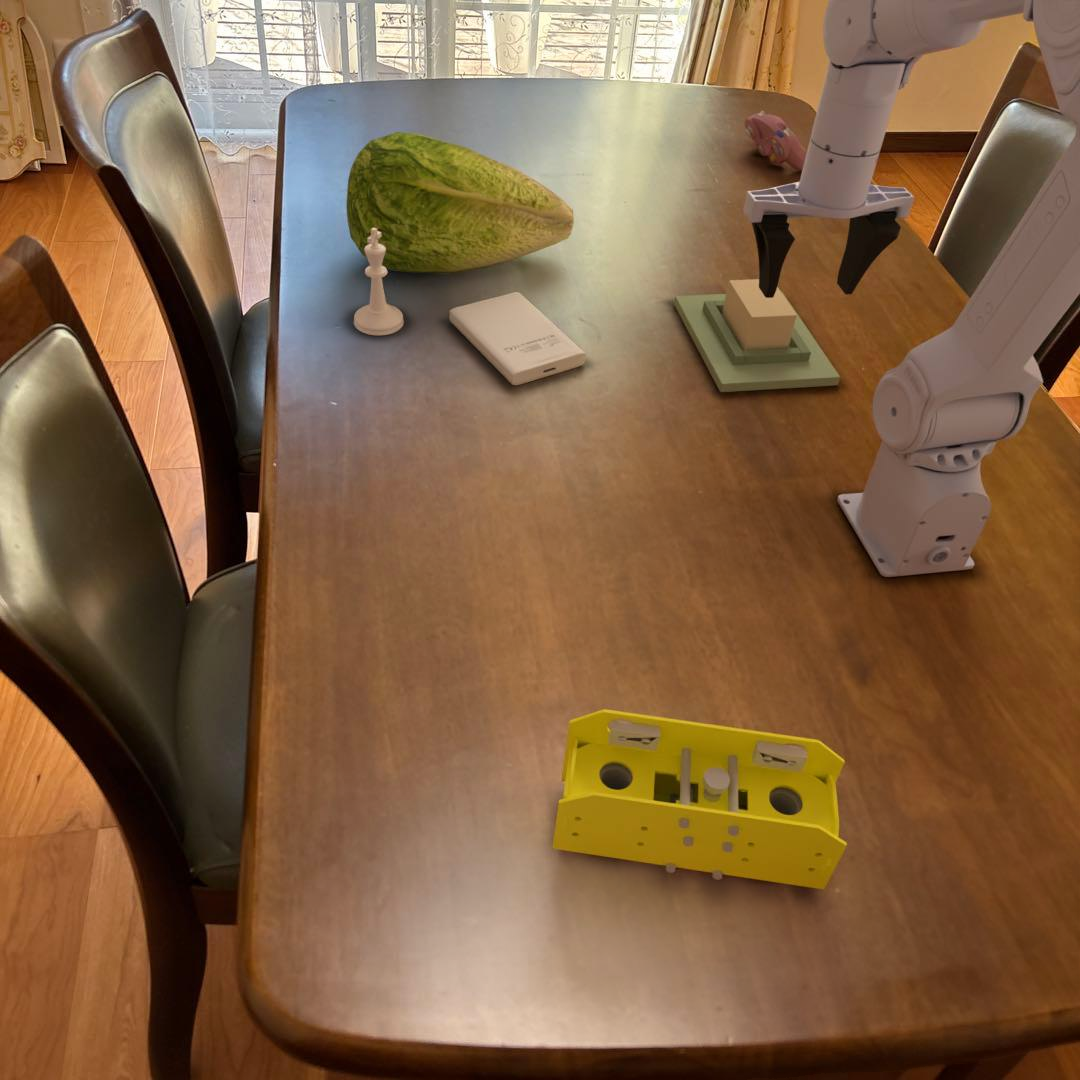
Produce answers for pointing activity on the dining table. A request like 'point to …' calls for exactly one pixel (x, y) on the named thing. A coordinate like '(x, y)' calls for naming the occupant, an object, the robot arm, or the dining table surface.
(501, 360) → the hard drive
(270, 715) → the dining table surface
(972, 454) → the robot arm
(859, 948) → the dining table surface
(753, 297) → the tan rectangular block
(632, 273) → the dining table surface
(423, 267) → the lettuce
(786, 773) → the yellow toy chassis
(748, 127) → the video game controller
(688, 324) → the base mat
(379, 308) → the chess piece
